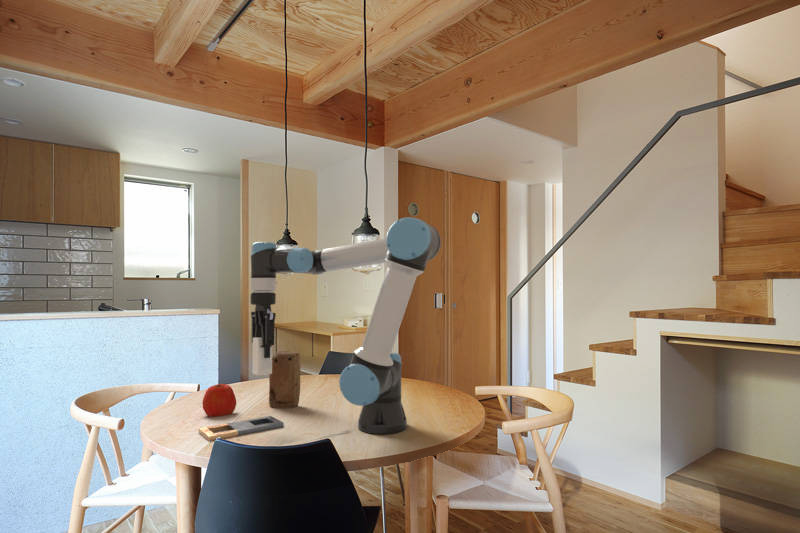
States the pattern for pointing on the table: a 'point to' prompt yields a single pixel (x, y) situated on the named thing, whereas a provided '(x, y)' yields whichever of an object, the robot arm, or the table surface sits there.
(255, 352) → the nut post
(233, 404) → the apple
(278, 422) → the grey slotted base plate
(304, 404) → the table surface
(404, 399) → the table surface
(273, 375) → the block
